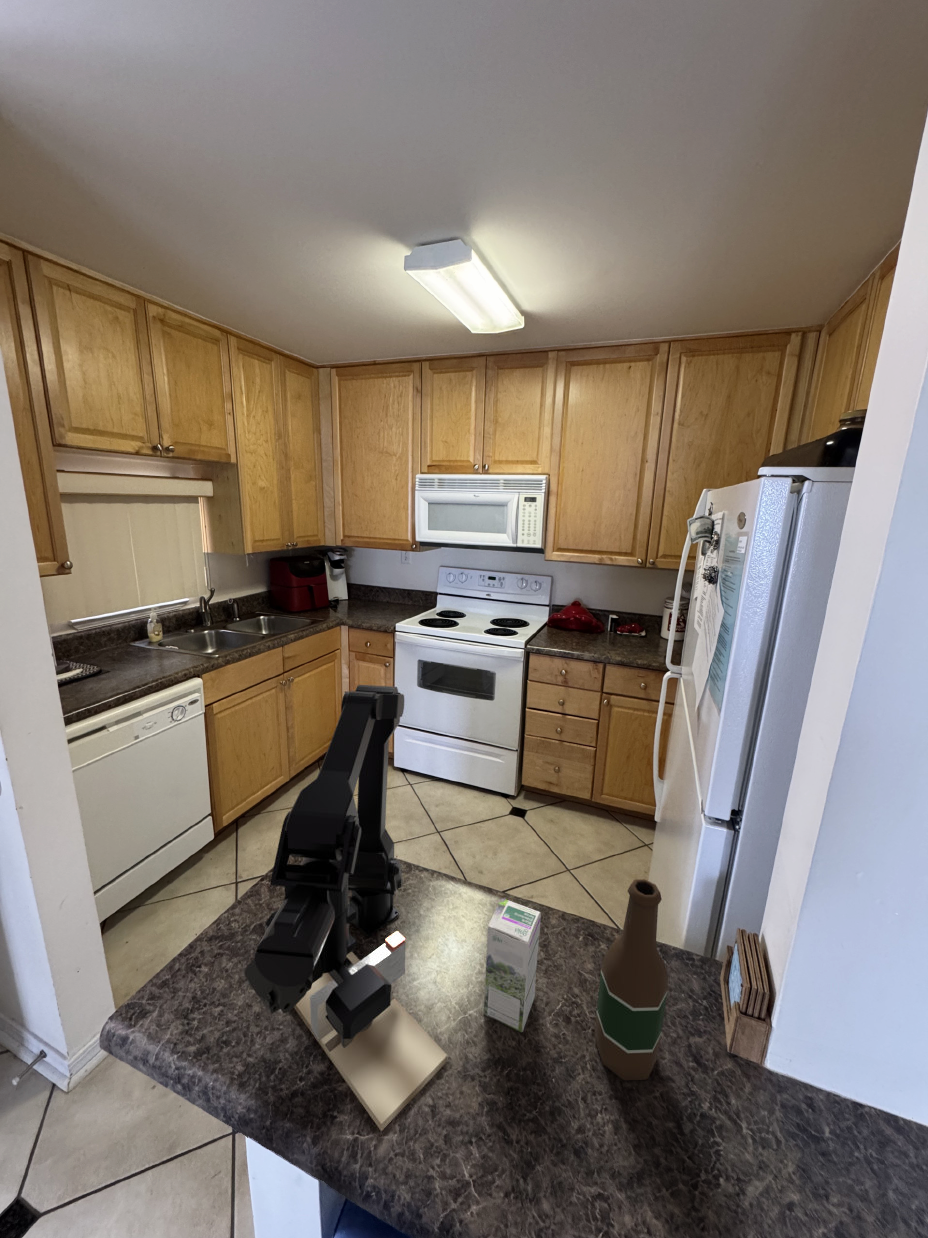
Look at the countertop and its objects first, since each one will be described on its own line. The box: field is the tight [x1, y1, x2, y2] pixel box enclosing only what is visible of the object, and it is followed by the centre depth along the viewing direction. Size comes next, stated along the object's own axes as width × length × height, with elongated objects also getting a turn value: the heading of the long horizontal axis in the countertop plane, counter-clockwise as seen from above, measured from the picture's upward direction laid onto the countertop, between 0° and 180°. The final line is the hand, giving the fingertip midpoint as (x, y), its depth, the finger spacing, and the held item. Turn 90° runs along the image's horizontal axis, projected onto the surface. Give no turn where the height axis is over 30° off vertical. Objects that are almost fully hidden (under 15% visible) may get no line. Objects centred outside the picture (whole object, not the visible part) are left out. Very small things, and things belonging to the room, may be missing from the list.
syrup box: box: [483, 898, 542, 1033], centre depth 67 cm, size 6×6×14 cm
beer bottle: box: [594, 878, 669, 1081], centre depth 61 cm, size 8×8×24 cm
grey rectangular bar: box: [310, 931, 406, 1042], centre depth 64 cm, size 4×13×7 cm, turn 135°
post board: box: [293, 951, 448, 1132], centre depth 65 cm, size 10×22×3 cm, turn 46°
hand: (325, 1016), depth 60 cm, fingers open, 9 cm apart
